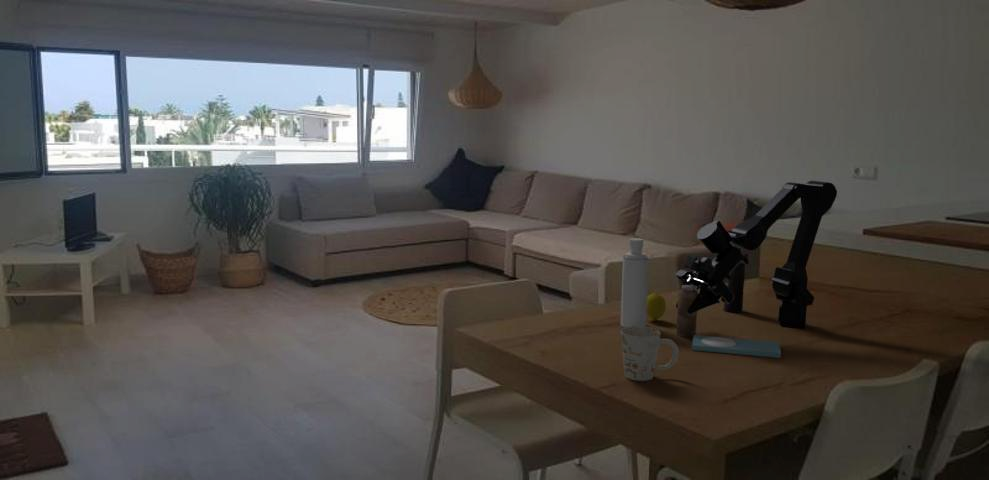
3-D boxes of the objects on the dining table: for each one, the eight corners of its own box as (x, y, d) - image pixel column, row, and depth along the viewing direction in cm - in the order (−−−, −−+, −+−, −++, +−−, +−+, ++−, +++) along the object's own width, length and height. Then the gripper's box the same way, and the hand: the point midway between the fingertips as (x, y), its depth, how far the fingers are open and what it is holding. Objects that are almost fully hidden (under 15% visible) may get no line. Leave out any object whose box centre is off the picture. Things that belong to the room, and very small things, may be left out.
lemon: (665, 323, 204) (666, 295, 202) (644, 322, 205) (645, 293, 204) (664, 318, 209) (666, 290, 208) (644, 317, 210) (645, 289, 209)
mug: (615, 370, 165) (616, 326, 164) (671, 369, 166) (673, 325, 165) (624, 383, 157) (626, 337, 155) (683, 382, 158) (685, 336, 157)
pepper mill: (696, 333, 195) (698, 285, 193) (695, 338, 191) (697, 289, 189) (677, 331, 196) (679, 283, 194) (675, 336, 192) (678, 287, 190)
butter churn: (725, 316, 213) (730, 217, 208) (707, 307, 222) (712, 213, 217) (754, 314, 215) (760, 216, 210) (735, 306, 224) (741, 212, 219)
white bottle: (633, 321, 206) (637, 230, 202) (651, 326, 201) (655, 233, 197) (615, 324, 203) (618, 232, 199) (632, 330, 197) (636, 235, 193)
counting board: (778, 347, 183) (778, 341, 183) (780, 358, 175) (781, 352, 175) (693, 339, 189) (693, 334, 189) (691, 349, 181) (692, 344, 180)
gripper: (683, 238, 200) (645, 282, 198) (726, 250, 182) (684, 298, 181) (707, 266, 204) (669, 309, 202) (751, 280, 186) (711, 327, 184)
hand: (682, 310), depth 192 cm, fingers closed on pepper mill, 5 cm apart
